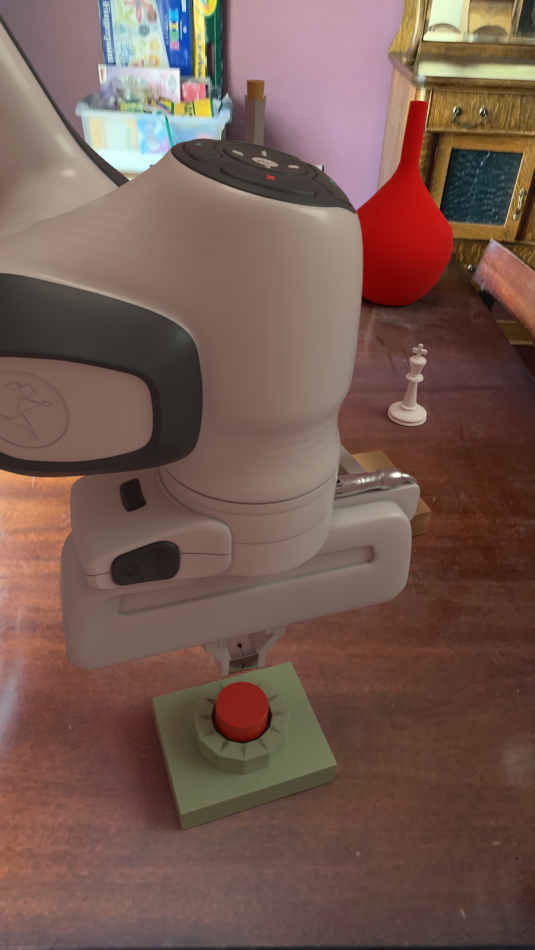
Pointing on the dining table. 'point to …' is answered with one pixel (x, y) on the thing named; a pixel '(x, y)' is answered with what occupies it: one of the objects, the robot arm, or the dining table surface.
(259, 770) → the olive flat block
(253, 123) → the bottle
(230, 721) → the button
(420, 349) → the chess piece
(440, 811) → the dining table surface
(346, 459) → the red-tipped grey block
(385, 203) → the vase
